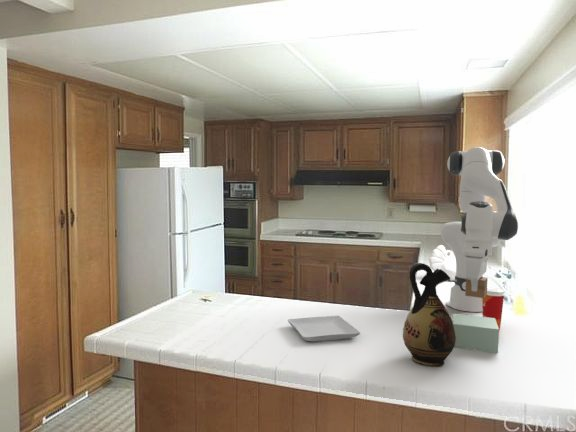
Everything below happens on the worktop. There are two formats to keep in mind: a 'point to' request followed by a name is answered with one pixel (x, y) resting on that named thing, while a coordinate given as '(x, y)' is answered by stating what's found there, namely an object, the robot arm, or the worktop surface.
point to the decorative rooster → (443, 261)
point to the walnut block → (481, 288)
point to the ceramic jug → (428, 320)
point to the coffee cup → (493, 304)
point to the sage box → (476, 332)
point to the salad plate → (324, 328)
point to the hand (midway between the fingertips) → (476, 289)
